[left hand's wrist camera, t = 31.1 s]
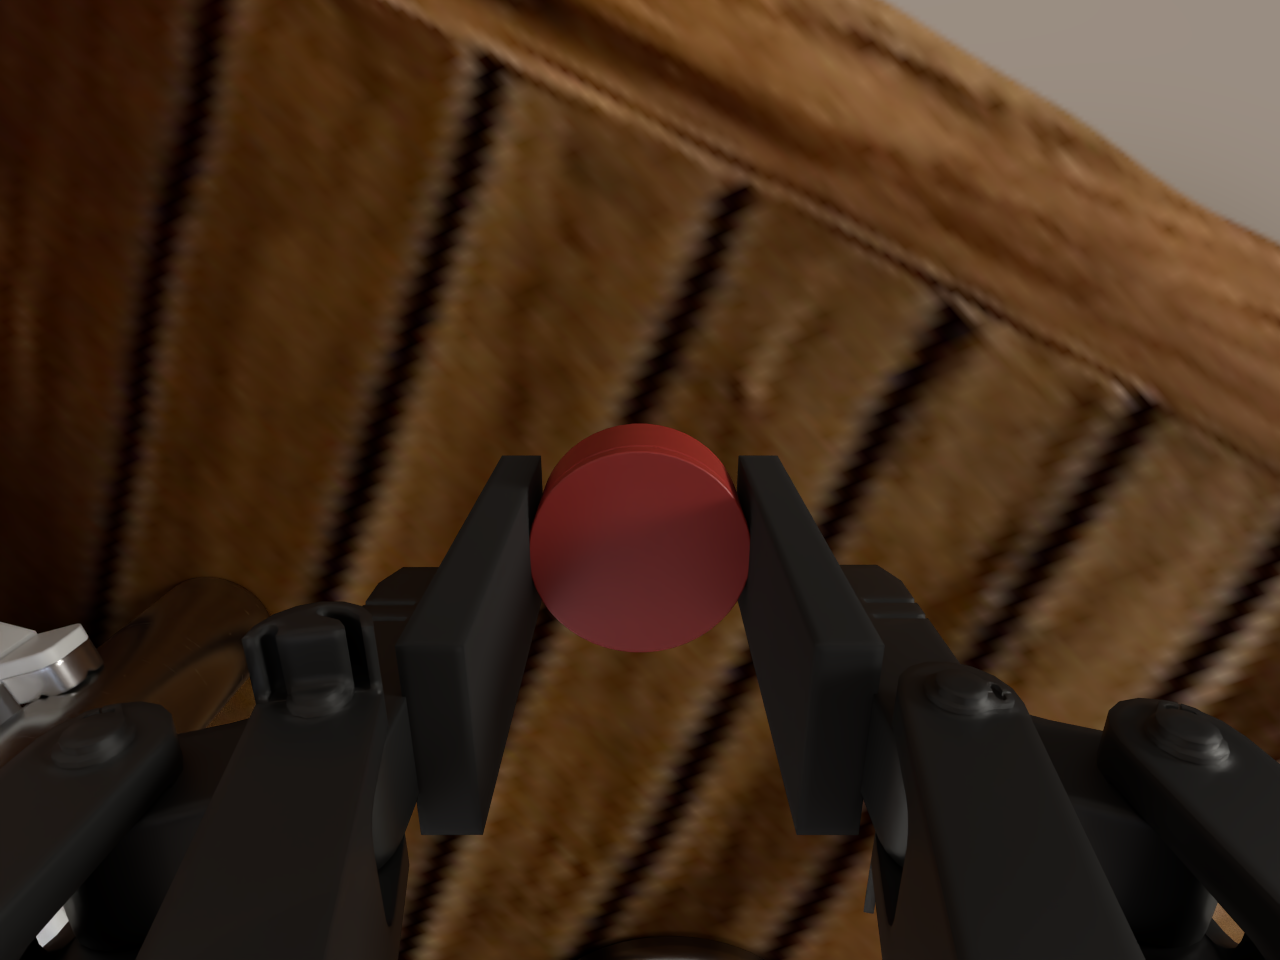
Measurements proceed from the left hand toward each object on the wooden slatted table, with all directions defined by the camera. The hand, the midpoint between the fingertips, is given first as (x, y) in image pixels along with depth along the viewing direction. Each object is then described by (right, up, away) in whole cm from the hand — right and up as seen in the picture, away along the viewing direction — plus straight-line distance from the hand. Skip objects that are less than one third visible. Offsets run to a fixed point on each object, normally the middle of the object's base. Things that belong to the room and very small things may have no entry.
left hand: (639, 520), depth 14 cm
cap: (0, 0, -1) cm, 2 cm away
